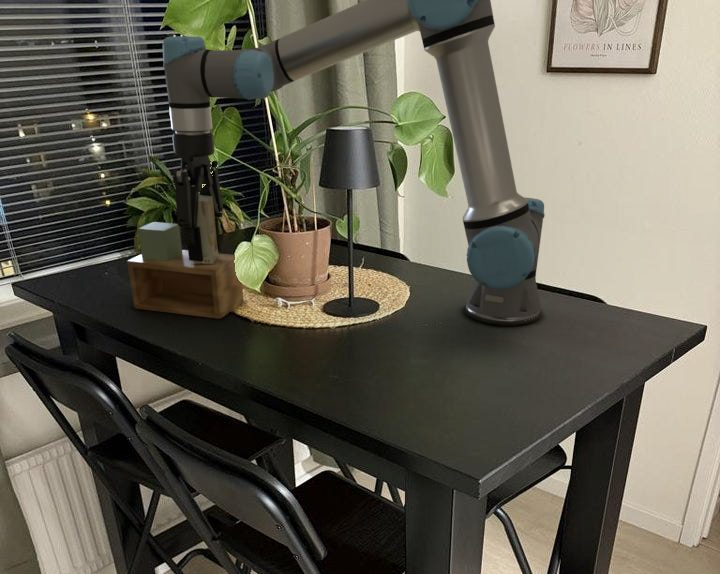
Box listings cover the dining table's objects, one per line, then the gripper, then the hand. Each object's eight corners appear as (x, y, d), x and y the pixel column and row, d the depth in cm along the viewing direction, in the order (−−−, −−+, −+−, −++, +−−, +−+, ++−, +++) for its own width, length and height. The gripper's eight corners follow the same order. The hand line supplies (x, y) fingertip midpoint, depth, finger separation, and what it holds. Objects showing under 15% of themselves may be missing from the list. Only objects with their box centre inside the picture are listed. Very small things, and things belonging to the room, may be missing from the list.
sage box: (157, 250, 160) (153, 221, 156) (182, 253, 158) (179, 223, 155) (142, 258, 155) (137, 228, 152) (167, 261, 153) (163, 230, 150)
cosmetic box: (213, 264, 151) (207, 201, 145) (192, 264, 151) (184, 201, 145) (219, 255, 157) (213, 194, 150) (198, 255, 157) (191, 193, 150)
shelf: (161, 292, 167) (155, 246, 162) (243, 301, 162) (239, 255, 157) (134, 308, 159) (126, 260, 153) (220, 319, 153) (215, 270, 148)
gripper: (199, 124, 150) (211, 241, 162) (146, 138, 134) (163, 267, 146) (234, 126, 148) (243, 244, 160) (183, 140, 132) (198, 270, 144)
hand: (205, 255), depth 153 cm, fingers closed on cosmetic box, 7 cm apart
